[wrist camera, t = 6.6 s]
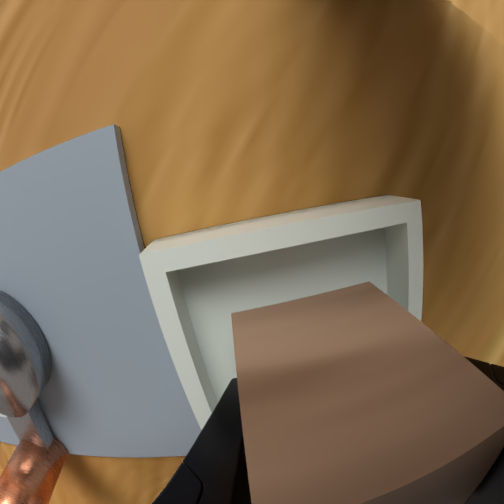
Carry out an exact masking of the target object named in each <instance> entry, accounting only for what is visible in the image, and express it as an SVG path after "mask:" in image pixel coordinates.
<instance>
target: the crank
mask: <svg viewBox="0 0 504 504" xmlns="http://www.w3.org/2000/svg"><path fill="white" fill-rule="evenodd" d="M51 373H52V363H51V357H50V353H49V349H48V346H47V344H46V341H45V339H44V337H43V335H42V333H41V331H40V329H39V328H38V326H37V324H36V323H35V321H34V320H33V318H32V317H31V316H30V315H29V313H28V312H27V311H26V310H25V309H24V308H23V306H22V305H21V304H20V303H18V302H17V301H16V300H15V299H14V298H13V297H11V296H10V295H8V294H7V293H5V292H3V291H1V290H0V413H1V414H3V415H6V416H7V418H8V420H9V422H10V424H11V426H12V428H13V430H14V431H15V433H16V435H17V437H18V439H19V441H20V442H19V444H18V445H17V447H16V449H15V451H14V452H13V454H12V456H11V458H10V460H9V462H8V463H7V465H6V467H5V469H4V471H3V473H2V475H1V477H0V504H49V501H50V498H51V496H52V493H53V490H54V488H55V485H56V483H57V480H58V477H59V475H60V472H61V470H62V468H63V465H64V463H65V460H66V458H67V451H66V449H65V447H64V446H63V445H62V444H61V443H60V442H59V441H58V440H57V439H56V438H55V437H53V436H52V434H51V432H50V429H49V427H48V425H47V423H46V421H45V418H44V416H43V414H42V411H41V409H40V406H39V404H38V401H37V398H38V396H39V395H40V393H41V392H42V391H43V389H44V388H45V386H46V385H47V383H48V382H49V380H50V377H51Z"/></svg>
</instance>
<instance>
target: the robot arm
mask: <svg viewBox="0 0 504 504" xmlns="http://www.w3.org/2000/svg"><path fill="white" fill-rule="evenodd" d="M465 358H466V359H467V360H468V361H470V362H471V363H472V364H473V365H474V366H475V367H477V368H478V369H479V370H480V371H481V372H482V373H484V374H485V375H486V376H487V377H488V378H489V379H490V380H492V381H493V382H494V383H495V384H496V385H497V386H498V387H499V388H501V389H502V390H503V391H504V367H502V366H498V365H494V364H491V365H490V364H489V363H486V362H483V361H479V360H475V359H471V358H468V357H465ZM183 462H184V463H181V465H180V466H179V468H178V469H177V471H176V473H175V474H174V476H173V477H172V479H171V480H170V481H169V483H168V484H167V486H166V487H165V488H164V490H163V491H162V492H161V493H160V495H159V496H158V497H157V498H156V500H155V501H154V502H153V503H152V504H252V503H251V495H250V487H249V480H248V472H247V463H246V455H245V447H244V438H243V429H242V420H241V411H240V402H239V392H238V383H237V378H233V379H231V381H230V382H229V384H228V386H227V388H226V389H225V391H224V393H223V395H222V396H221V398H220V400H219V402H218V403H217V405H216V407H215V409H214V410H213V412H212V414H211V415H210V417H209V419H208V420H207V422H206V424H205V425H204V427H203V429H202V430H201V432H200V434H199V435H198V437H197V439H196V440H195V442H194V444H193V445H192V447H191V449H190V450H189V452H188V454H187V455H186V457H185V458H184V460H183ZM464 504H504V447H503V449H502V450H501V452H500V454H499V455H498V457H497V459H496V460H495V462H494V463H493V465H492V466H491V468H490V469H489V471H488V472H487V474H486V475H485V477H484V478H483V479H482V481H481V482H480V484H479V485H478V486H477V488H476V489H475V490H474V492H473V493H472V494H471V496H470V497H469V498H468V499H467V501H466V502H465V503H464Z"/></svg>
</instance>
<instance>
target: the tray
mask: <svg viewBox="0 0 504 504" xmlns="http://www.w3.org/2000/svg"><path fill="white" fill-rule="evenodd" d="M139 258H140V261H141V265H142V269H143V272H144V276H145V279H146V282H147V286H148V289H149V293H150V296H151V299H152V302H153V305H154V309H155V312H156V315H157V318H158V321H159V324H160V327H161V330H162V333H163V335H164V338H165V341H166V344H167V347H168V350H169V352H170V355H171V358H172V360H173V363H174V366H175V368H176V371H177V374H178V376H179V379H180V381H181V384H182V386H183V389H184V391H185V394H186V396H187V398H188V401H189V403H190V406H191V408H192V410H193V413H194V415H195V417H196V419H197V422H198V424H199V426H200V428H201V430H202V429H203V427H204V425H205V424H206V422H207V420H208V419H209V417H210V415H211V414H212V412H213V410H214V409H215V407H216V405H217V403H218V402H219V400H220V398H221V396H222V395H223V393H224V391H225V389H226V388H227V386H228V384H229V382H230V381H231V379H233V378H237V373H236V362H235V352H234V341H233V330H232V319H231V313H235V312H240V311H245V310H250V309H254V308H259V307H264V306H269V305H273V304H278V303H282V302H287V301H291V300H296V299H300V298H304V297H308V296H313V295H317V294H321V293H325V292H329V291H333V290H337V289H341V288H345V287H349V286H353V285H357V284H361V283H365V282H371V283H372V284H373V285H375V286H376V287H377V288H379V289H380V290H381V291H383V292H384V293H385V294H386V295H388V296H389V297H390V298H392V299H393V300H394V301H396V302H397V303H398V304H399V305H401V306H402V307H403V308H405V309H406V310H407V311H408V312H410V313H411V314H412V315H413V316H415V317H416V318H417V319H418V320H420V321H421V317H422V300H423V230H422V212H421V200H418V199H412V198H406V197H399V196H393V195H384V196H378V197H372V198H365V199H359V200H354V201H348V202H342V203H336V204H330V205H325V206H319V207H314V208H308V209H303V210H297V211H292V212H286V213H281V214H276V215H271V216H265V217H260V218H255V219H250V220H245V221H240V222H235V223H230V224H225V225H220V226H216V227H211V228H206V229H201V230H197V231H192V232H187V233H183V234H178V235H173V236H169V237H164V238H160V239H155V240H154V241H152V242H151V243H150V244H149V245H148V246H147V247H146V248H145V249H144V250H143V251H142V252H141V253H140V254H139Z"/></svg>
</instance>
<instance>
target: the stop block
mask: <svg viewBox="0 0 504 504" xmlns="http://www.w3.org/2000/svg"><path fill="white" fill-rule="evenodd" d="M231 319H232V330H233V341H234V352H235V362H236V373H237V383H238V392H239V402H240V411H241V420H242V429H243V438H244V447H245V455H246V463H247V472H248V480H249V487H250V495H251V503H252V504H464V503H465V502H466V501H467V499H468V498H469V497H470V496H471V494H472V493H473V492H474V490H475V489H476V488H477V486H478V485H479V484H480V482H481V481H482V479H483V478H484V477H485V475H486V474H487V472H488V471H489V469H490V468H491V466H492V465H493V463H494V462H495V460H496V459H497V457H498V455H499V454H500V452H501V450H502V449H503V447H504V391H503V390H502V389H501V388H499V387H498V386H497V385H496V384H495V383H494V382H493V381H492V380H490V379H489V378H488V377H487V376H486V375H485V374H484V373H482V372H481V371H480V370H479V369H478V368H477V367H475V366H474V365H473V364H472V363H471V362H470V361H468V360H467V359H466V358H465V357H464V356H462V355H461V354H460V353H459V352H458V351H456V350H455V349H454V348H453V347H452V346H450V345H449V344H448V343H447V342H446V341H444V340H443V339H442V338H441V337H440V336H438V335H437V334H436V333H435V332H433V331H432V330H431V329H430V328H428V327H427V326H426V325H425V324H423V323H422V322H421V321H420V320H418V319H417V318H416V317H415V316H413V315H412V314H411V313H410V312H408V311H407V310H406V309H405V308H403V307H402V306H401V305H399V304H398V303H397V302H396V301H394V300H393V299H392V298H390V297H389V296H388V295H386V294H385V293H384V292H383V291H381V290H380V289H379V288H377V287H376V286H375V285H373V284H372V283H371V282H365V283H361V284H357V285H353V286H349V287H345V288H341V289H337V290H333V291H329V292H325V293H321V294H317V295H313V296H308V297H304V298H300V299H296V300H291V301H287V302H282V303H278V304H273V305H269V306H264V307H259V308H254V309H250V310H245V311H240V312H235V313H231Z"/></svg>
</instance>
